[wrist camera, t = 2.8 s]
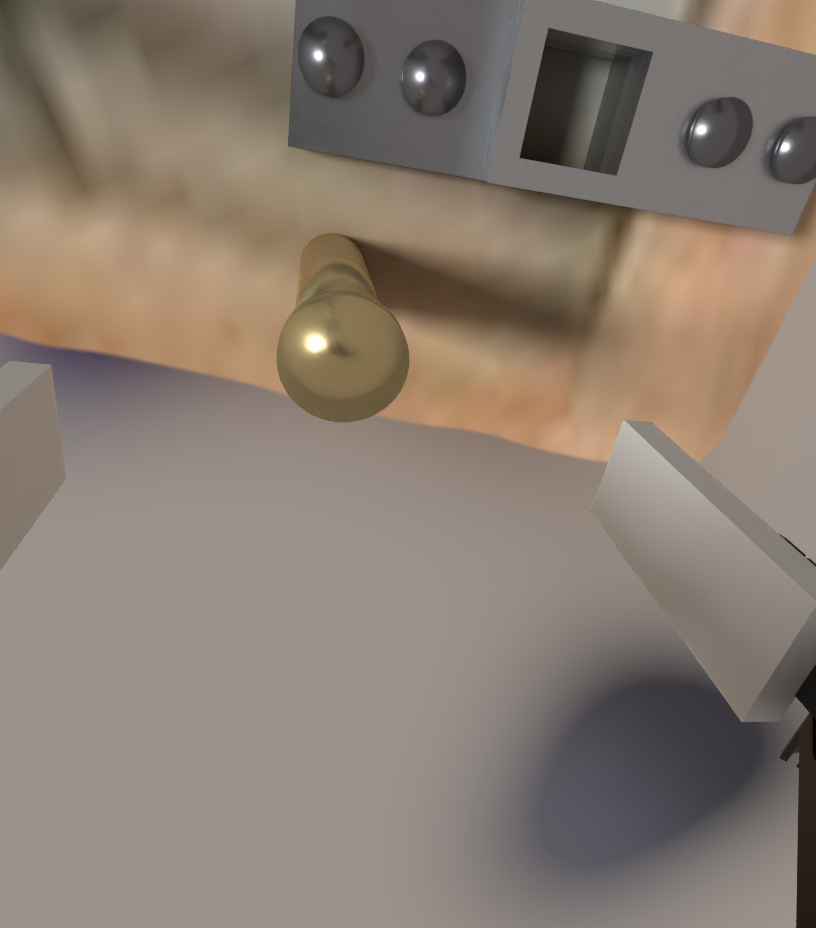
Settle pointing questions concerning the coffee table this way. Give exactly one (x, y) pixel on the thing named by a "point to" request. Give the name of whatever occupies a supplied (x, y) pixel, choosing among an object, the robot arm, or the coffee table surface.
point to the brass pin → (340, 337)
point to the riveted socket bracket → (511, 92)
